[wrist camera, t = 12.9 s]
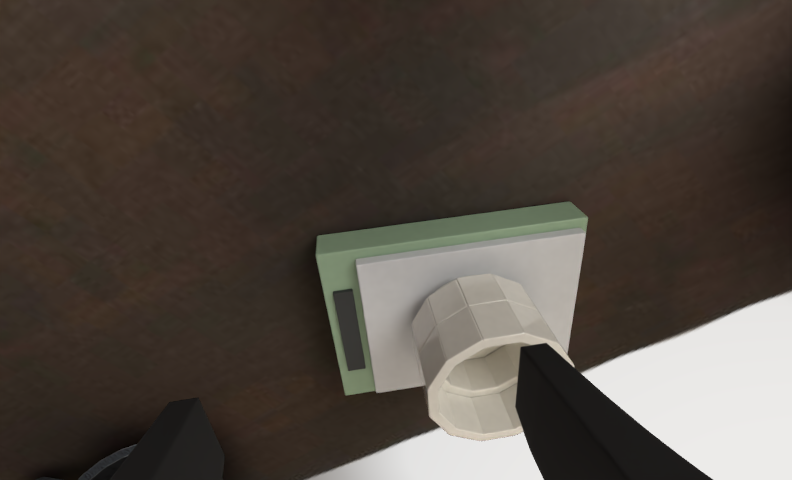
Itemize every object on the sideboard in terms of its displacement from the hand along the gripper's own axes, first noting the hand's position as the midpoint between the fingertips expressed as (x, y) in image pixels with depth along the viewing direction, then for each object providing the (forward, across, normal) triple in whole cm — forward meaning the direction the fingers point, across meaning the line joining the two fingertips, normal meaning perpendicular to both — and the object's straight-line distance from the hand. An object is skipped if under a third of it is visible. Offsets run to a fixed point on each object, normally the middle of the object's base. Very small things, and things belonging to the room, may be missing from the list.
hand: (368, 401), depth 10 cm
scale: (+9, -4, +4) cm, 11 cm away
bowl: (+7, -4, +4) cm, 10 cm away
